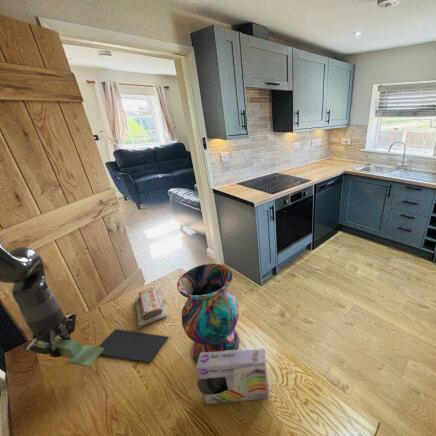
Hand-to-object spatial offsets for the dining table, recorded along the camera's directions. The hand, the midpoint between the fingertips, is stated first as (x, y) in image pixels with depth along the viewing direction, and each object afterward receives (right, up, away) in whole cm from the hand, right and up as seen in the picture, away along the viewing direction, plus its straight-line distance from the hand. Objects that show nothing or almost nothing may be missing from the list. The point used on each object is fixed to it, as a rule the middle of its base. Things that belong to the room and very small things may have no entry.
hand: (62, 351), depth 77 cm
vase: (+47, -3, +10) cm, 48 cm away
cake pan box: (+58, -10, -5) cm, 59 cm away
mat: (+16, -3, +9) cm, 19 cm away
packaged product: (+14, +4, +25) cm, 29 cm away
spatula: (+3, -1, 0) cm, 3 cm away
